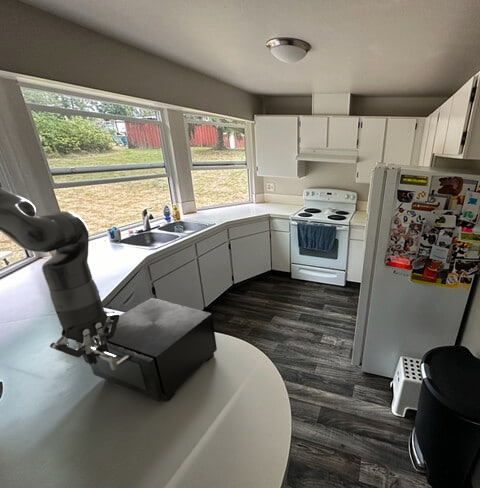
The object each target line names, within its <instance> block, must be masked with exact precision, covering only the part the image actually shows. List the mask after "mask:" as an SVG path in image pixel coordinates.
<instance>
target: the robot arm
mask: <svg viewBox="0 0 480 488" xmlns="http://www.w3.org/2000/svg"><path fill="white" fill-rule="evenodd" d="M36 212H37V211H36V207H35V205H34V204H33V202H31V201H30V200H28V199H26V198H24V197H22V196H20V195H17V194H16V193H13V192H12V191H9V190H7V189H5V188H2V187H0V232H1V233H2V234H3V235H4V236H6V237H7V238H8V239H10V241H12V242H13V243H15V244H16V245H17V246H18V247H20V248H21V249H23V250H26V251H29V252H34V253H41V254H43V253H44V254H45V253H51V252H53V251H55V252H54V254H53V255H52V256H51V257H50V258H49V259H47V260H46V261H45V262H44V263H43V264H42V266H41V271H42V275H43V277H44V280H45V283H46V285H47V288H48V291H49V297H50V301H51V303H52V306H53V308H54V311H55V313H56V316H57V318H58V321H59V324H60V326H61V328H62V331H61V337H60V338H59V339H58V340H57V341H54V342H52V343H50V345H49V347H50V348H51V349H54V350H56V351H57V352H61V353H64V354H67V355H69V356H73V357H76V358H81V356H82V355H83V357H84V359H83V360H84V362H85V363H86V364H88V365H90V364H93V365H94V364H96V363H97V359H96V356H95V353H94V351H92V347H91V344H92V342H91V338H92V337H93V339H94V341H95V343H96V344H95V346H96V349H99V350H102V351H104V352H107V353H108V352H109V350H108V347H107V344H106V342H107V340H108V339H109V338H112V337H113V336H114V333H115V329H116V326H117V323H118V320H119V317H120V316H119V315H120V314H117V313H115V312H114V313H115V314H114V313H112V312H109V314H106V313H105V312H104V311H105V308H104V306H103V302H102V298H101V296H100V290H99V289H98V285H97V284H96V282H95V280H94V278H93V275H92V272H91V268H90V265H89V261H88V258H89V243H90V242H89V239H90V235H89V229H88V226H87V224H86V222H85V221H84V220H83V219H82V218H81V217H80V216H79V215H78V214H76V213H74V212H71V211H56V212H53V213H52V212H51V213H48V214H43V215H39V216H36ZM105 322H106V323H105ZM104 324H105V326H104ZM103 327H104V329H103ZM69 340H72V341H75V344H78V347H79V349H75V348H72V347H70V342H69Z"/></svg>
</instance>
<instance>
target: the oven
mask: <svg viewBox="0 0 480 488" xmlns="http://www.w3.org/2000/svg"><path fill="white" fill-rule="evenodd" d="M118 315H119V316H120V317H119V320H118V323H117V326H116V329H115V333H114V336H113V337H112V338H109V339H108V340H107V343H110V344H113V345H115V346H118V347H121V348H124V349H127V350H130V351H133V352H135V353H138V354H141V355H144V356H147V357H150V358H153V359H154V362H155V366H156V370H157V374H158V378H159V381H160V385H161V389H162V393H163V397H164V398H163V399H162V400H163V401H166V402H169V401H170V400H172V398H173V397H174V396H175V395H176V391H177V390H178V389H179V388H180V387H181V386H182V385H183V384H184V383H185V382H186V381H187V380H188V379H189V378H190V377H191V376H192V375H193V374H194V373H195V372H196V371H197V370H199V368H200V367H201V366H202V365H203V364H204V363H206V362H207V361H210V360H212V358H213V357H214V356H215V352H216V351H217V350H218V348H217V340H216V334H215V333H216V331H215V327H214V326H215V325H214V318H213V313H212V312H208V311H204V310H200V309H197V308H193V307H188V306H185V305H182V304H177V303H174V302H169V301H165V300H161V299H159V298H154V297H151V298H148V299H146V300H145V301H144V302H143V301H142V302H141V303H139V304H138V305H136V306H134V307H132V308H131V309H129V310H127V311H125V312H123V313H121V314H118ZM104 326H105V324H104ZM103 329H104V327H103ZM92 338H93V337H92Z"/></svg>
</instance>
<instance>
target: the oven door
mask: <svg viewBox="0 0 480 488" xmlns="http://www.w3.org/2000/svg"><path fill="white" fill-rule="evenodd" d="M91 342H92V344H91V347H92V351H94V353H95V356H96V359H97V363H96V364H94V365H93V364H89V365H90V367H91V368H90V369H91V370H92V373H93V375H94V376H96V377H98V378H101V379H103V380H106V381H108V382H111V383H113V384H116V385H118V386H121V387H123V388H125V389H128V390H130V391H132V392H136V393H138V394H140V395H143V396H145V397H148V398H150V399H153V400H155V401H157V402H162V400H163V398H164V397H163V393H162V389H161V385H160V381H159V378H158V374H157V370H156V366H155V362H154V359H153V358H150V357H147V356H144V355H141V354H138V353H135V352H133V351H130V350H127V349H124V348H121V347H118V346H115V345H113V344H110V343H107V342H106V344H107V347H108V350H109V352H108V353H107V352H104V351H102V350H99V349H96V346H95V344H96V343H95V341H94V339H93V338H91ZM74 349H75V350H76V349H79V347H78V344H77V343H75V345H74ZM80 358H81V359H83V360H84V357H83V355H82V356H81V357H80Z"/></svg>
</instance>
